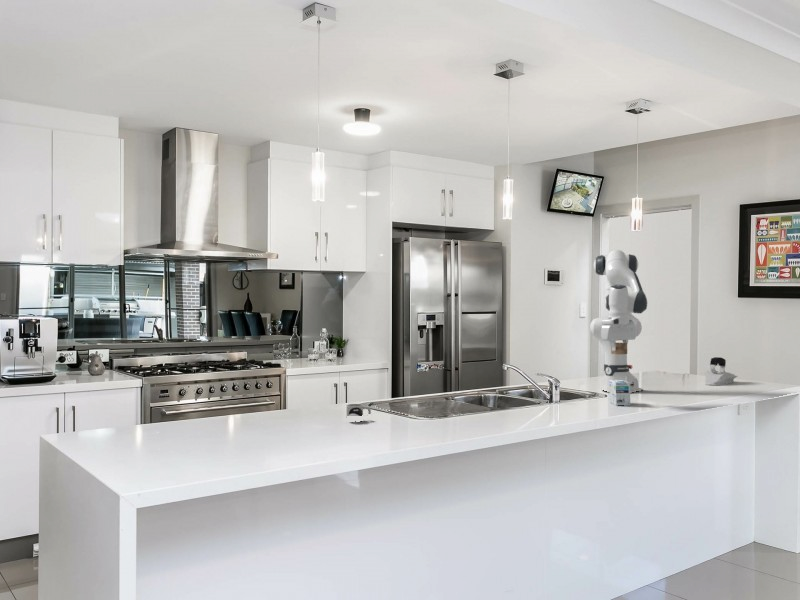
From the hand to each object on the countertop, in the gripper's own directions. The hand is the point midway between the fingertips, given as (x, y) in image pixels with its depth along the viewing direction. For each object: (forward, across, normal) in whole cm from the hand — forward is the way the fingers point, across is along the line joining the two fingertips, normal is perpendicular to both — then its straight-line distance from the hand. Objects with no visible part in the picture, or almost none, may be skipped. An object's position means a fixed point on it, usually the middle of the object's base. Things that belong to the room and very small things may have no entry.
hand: (619, 350), depth 319 cm
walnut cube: (+2, 0, 0) cm, 2 cm away
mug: (+25, +119, -33) cm, 126 cm away
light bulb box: (+25, 0, 0) cm, 25 cm away
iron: (+25, -108, -18) cm, 112 cm away
